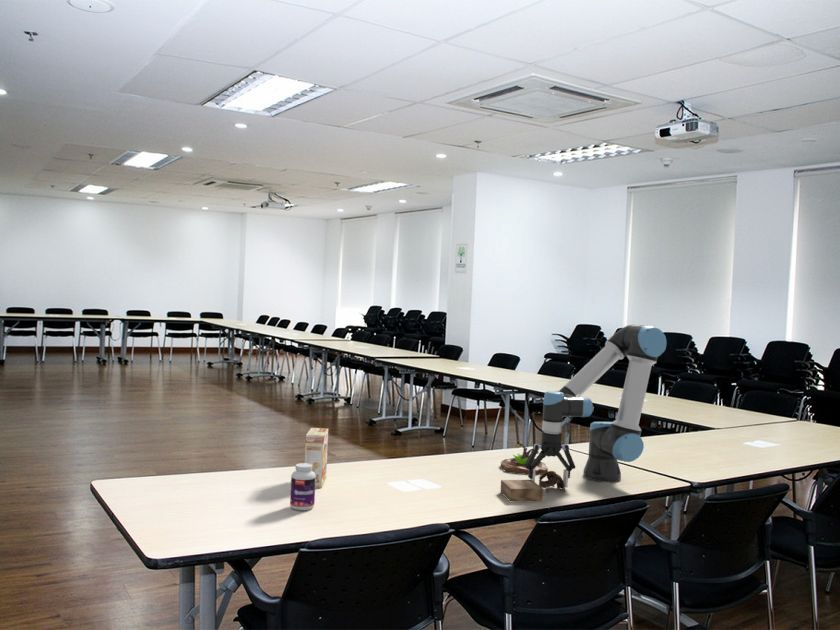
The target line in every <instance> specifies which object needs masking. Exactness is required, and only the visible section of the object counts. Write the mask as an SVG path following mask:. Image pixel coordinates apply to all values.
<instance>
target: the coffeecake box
mask: <svg viewBox="0 0 840 630" xmlns="http://www.w3.org/2000/svg"><path fill="white" fill-rule="evenodd" d="M328 442H329V428H323V427H310V429H309V430H308V432H307V433H306V434H305V444H304V445H305V447H304V463H308V464H312V470H311V471H313V472H314V473H315V475H316V480H315V489H322V488H323V486H324V485H325V483H326V482H325V481H326V479H327V466H328V465H327V464H328V446H329V445H328V444H329V443H328Z"/></svg>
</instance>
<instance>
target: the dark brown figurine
mask: <svg viewBox="0 0 840 630" xmlns="http://www.w3.org/2000/svg"><path fill="white" fill-rule="evenodd" d="M544 478H547V480H543V479H544ZM538 479H539V480H538V485H539V486H540V487H542V488H543V489H546V488H549V487H553V488H555V485H556V488H557V489H562V490H563V492H566V488H565V485H564V482H563V477H561V475H560V474H558V473H557V472H556V471H554V470H548V471H547V472H545V473H543V474H540V475H539V477H538Z"/></svg>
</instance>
